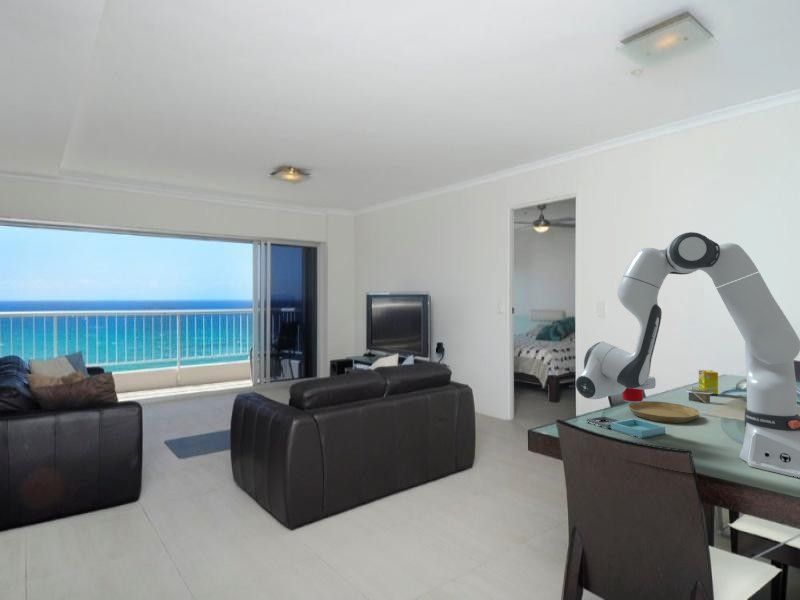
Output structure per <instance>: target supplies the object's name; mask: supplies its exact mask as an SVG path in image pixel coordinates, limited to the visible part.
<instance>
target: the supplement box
mask: <svg viewBox="0 0 800 600" xmlns="http://www.w3.org/2000/svg"><path fill="white" fill-rule="evenodd" d="M718 383H719V372H716V371H714V370H710V369H707V370H706V369H704V370H703V369H698V387H699V388H703V389H707V388H708V391H711V392H713V394H710V396H715V397H716V396H718V395H719V384H718Z"/></svg>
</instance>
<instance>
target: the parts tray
mask: <svg viewBox="0 0 800 600" xmlns="http://www.w3.org/2000/svg"><path fill="white" fill-rule="evenodd" d="M611 429H613V430H616V431H615V432H617V431H618V432H617V433H620V432H622V433H621V434H624V433H625V434H624V435H627V434H629V435H628V436H630V435H633V436H632V437H634V436H636V437H635V438H637V437H640V438H644V439H648V438H647V437H649V438H653V437H656V436H662V435H666V426H664V425H660V424H656V423H653V422H649V421H647V420H646V421H645V420H642V419H638V418H628V419H623V420H620V421H616V422H611ZM611 429H610V430H611ZM613 430H612V431H613ZM640 438H639V439H640Z"/></svg>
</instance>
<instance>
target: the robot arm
mask: <svg viewBox="0 0 800 600" xmlns="http://www.w3.org/2000/svg"><path fill="white" fill-rule="evenodd" d="M697 271H703V272H705V273H706V275H708V276H709V278H711V280H712V283H713V285H714V286H715V288H716V290H717V293H718V294H719V296H720V298H721V300H722V302H723V304H724V305H725V308H726V309H727V312H728V313H729V315H730V316H731V318H732V320H733V322H734V323H735V326H736V328H738V331H739V332H740V334H741V337H742V338H743V341H744V349H745V351H744V352H745V353H744V354H745V356H744V357H745V372H746V373H745V374H746V408H745V409H744V426H745V432H744V433H745V434H744V438H743V445H742V447H741V450H740V453H739V458H740V459H741V460H742V461H744V462H746V463H747V465H748V466H749V467H752V468H756V469H760V470H764V471H769V472H773V473H777V474H781V475H784V476H790V477H793V476H794V477H793V478H797V477H798V478H797V479H800V415H799V414H798V412H797V411H798V410H797V409H798V406H797V405H798V402H797V400H798V398H797V396H798V395H797V393H798V392H797V391H798V390H797V389H798V385H797V379H796V372H795V361H794V360H795V359H796V358H797V357H798V356H799V354H800V338H799V336H798V334H797V332H796V331H795V329H794V327H793V326H792V324H791V323H790V321H789V319H788V317H787V316H786V315H785V313H784V311H783V310H782V308H781V307H780V305H779V303H778V302H777V301H776V299H775V297H774V295H773V294H772V293H771V290H770V288H769V287H768V285H767V283H766V282H765V280H764V278H763V276H762V275H761V273H760V271H759V269H758V268H757V266H756V265H755V263H754V262H753V260H752V258H751V257H750V256H749V255H748V253H747V252H746V251H745V250H744V249H743V247H742V246H741V245H739V244H737V243H734V242H733V243H730V242H729V243H722V244H720V245H719V244H718V242H715V241H714V240H712V239H710V238H708V237H707V236H705V235H704V234H702V233H699V232H694V231H691V232H684V233H682V234H679V235H678V236H676V237H675V238H674V239H673V240H671V242H670V243H669V244H668V246H666V248H664V249H657V248H653V247H645V248H641V249H639V250H638V251H637V252H636V253H635V255H634V256H633V258H632V260H631V261H630V262H629V264H628V265H627V267H626V269H625V270H624V273H623V276H622V277H621V280H620V282H619V284H618V288H617V296H618V300H619V302H620V304H621V305H622V306H623V307H624V308H625V309H627V311H628V312H629V313H631V314H632V315H633V316H634V317H635V318H636V319H637V321H638V323H639V332H638V337H637V341H636V344H635V348H634V351H633V353H631V352H629V351H627V350H624V349H622V348H620V347H618V346H615V345H613V344H611V343H607V342H605V341H600V342H596V343H595V344H593V345H592V346H591V347H589V348H588V349H587V351H586V353H585V355H584V360H583V371H582V372H581V373H580V374H579V375H578V376H577V378H576V380H575V387H576V390H577V392H578V393H579V394H580V395H581V396H582V397H583V398H585V399H588V400H601V399H605V398H607V397H613V396H616V395H620V394H622V393H623V392H624V391H625V390H626V388H628V389H631V388H633V389H641V390H642V391H643V390H652V389H656V384H657V383H656V377H654V376H650V372H651V367H652V366H651V364H652V358H653V353H654V350H655V346H656V343H657V342H656V341H657V339H658V334H659V331H660V326H661V322H662V316H663V315H662V313H663V312H662V308H661V307H660V306H659V303H658V296H659V292H660V290H661V288H662V286H663V284H664V281H665V280H666V277H667V276H668V275H669V274H670V275H690V274H693V273H694V272H697Z"/></svg>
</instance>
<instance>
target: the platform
mask: <svg viewBox="0 0 800 600" xmlns="http://www.w3.org/2000/svg"><path fill="white" fill-rule="evenodd" d="M685 392H687V393H688V401H689V402H690V401H691V402H701V403H704V404H707V403H711V395H710V394H713V392H711V391H708V388H707V389H703V388H699V386H697V387H696V388H694V386H692V389H685Z"/></svg>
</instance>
